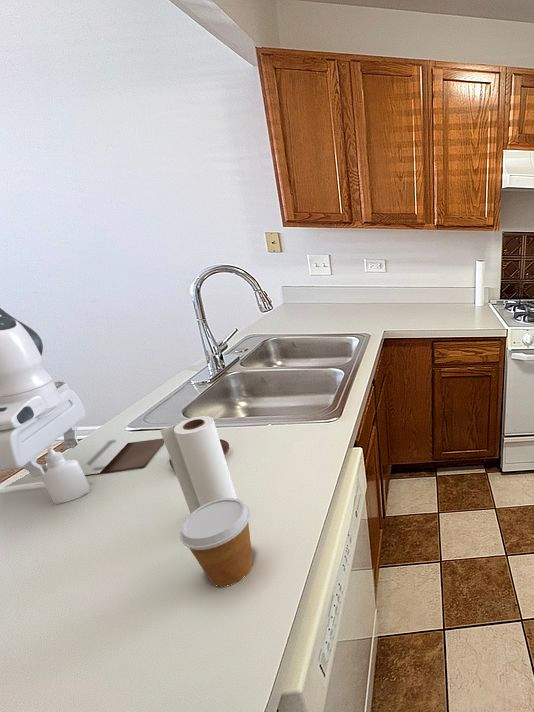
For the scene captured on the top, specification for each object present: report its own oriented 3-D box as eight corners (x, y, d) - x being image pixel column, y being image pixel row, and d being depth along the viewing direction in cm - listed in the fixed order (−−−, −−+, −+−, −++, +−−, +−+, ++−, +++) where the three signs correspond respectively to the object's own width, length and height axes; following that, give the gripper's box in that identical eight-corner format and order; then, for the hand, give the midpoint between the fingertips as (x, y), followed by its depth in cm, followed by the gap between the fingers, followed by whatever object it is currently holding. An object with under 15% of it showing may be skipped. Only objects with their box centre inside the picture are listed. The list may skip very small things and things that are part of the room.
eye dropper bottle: (64, 491, 85) (40, 445, 81) (95, 486, 87) (73, 441, 82) (50, 505, 82) (24, 458, 77) (83, 500, 83) (59, 453, 78)
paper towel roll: (247, 507, 81) (221, 417, 73) (222, 529, 76) (191, 435, 68) (219, 500, 83) (191, 412, 75) (193, 521, 78) (159, 428, 70)
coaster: (82, 476, 90) (81, 474, 90) (112, 446, 101) (111, 444, 100) (144, 468, 93) (143, 466, 93) (167, 439, 104) (166, 437, 103)
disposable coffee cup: (190, 603, 62) (166, 547, 58) (209, 554, 71) (190, 502, 66) (256, 588, 65) (239, 533, 60) (268, 542, 73) (253, 491, 68)
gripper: (45, 379, 84) (72, 434, 89) (-43, 431, 66) (-3, 496, 71) (80, 375, 85) (105, 430, 91) (4, 425, 67) (40, 489, 73)
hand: (57, 459), depth 81 cm, fingers open, 8 cm apart
